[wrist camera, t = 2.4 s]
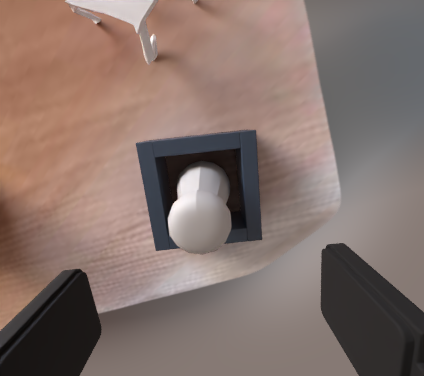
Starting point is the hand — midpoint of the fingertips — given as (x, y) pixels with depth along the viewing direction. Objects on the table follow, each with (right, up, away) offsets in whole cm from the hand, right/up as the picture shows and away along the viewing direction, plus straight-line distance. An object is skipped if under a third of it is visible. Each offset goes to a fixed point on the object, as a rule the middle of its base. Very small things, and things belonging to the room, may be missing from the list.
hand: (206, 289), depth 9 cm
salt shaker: (-1, +5, +18) cm, 19 cm away
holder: (-1, +5, +18) cm, 19 cm away
